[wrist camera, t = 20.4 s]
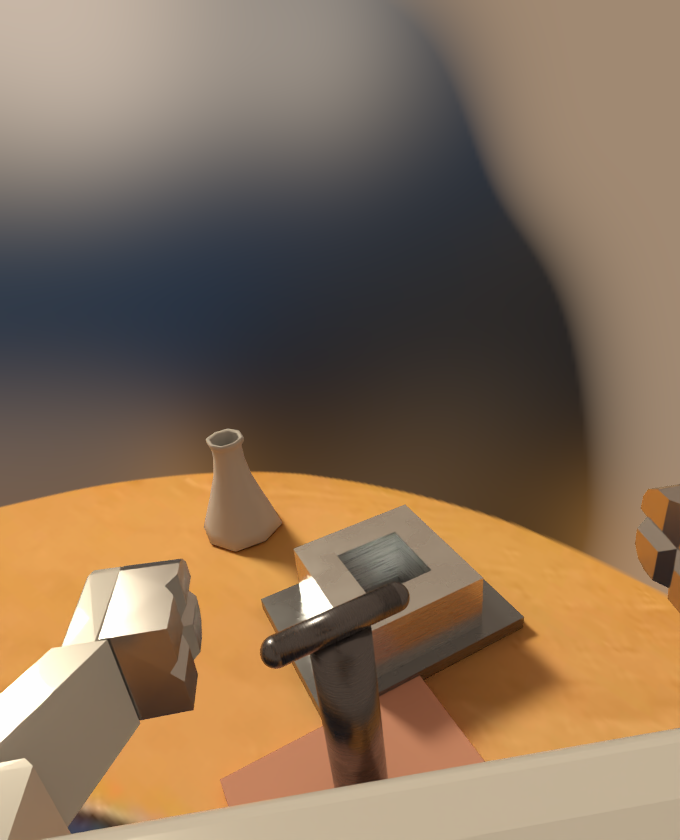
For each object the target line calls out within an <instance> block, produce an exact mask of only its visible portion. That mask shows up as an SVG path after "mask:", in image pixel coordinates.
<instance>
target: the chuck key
mask: <svg viewBox="0 0 680 840" xmlns="http://www.w3.org/2000/svg"><path fill="white" fill-rule="evenodd" d="M409 601H410V594H409V591H408V589H407V588H406V587H405V586H404V585H403V584H401V583H399V582H390V583H388V584H385V585H383V586H381V587H379V588H376V589H374V590H372V591H370V592H367V593H365V594H363V595H361V596H358V597H356V598H354V599H352V600H349V601H347V602H345V603H343V604H340V605H338V606H336V607H334V608H331V609H329V610H327V611H325V612H322V613H320V614H318V615H316V616H313V617H311V618H309V619H307V620H304V621H302V622H300V623H298V624H295V625H293V626H291V627H289V628H286V629H284V630H282V631H280V632H277V633H275V634H273V635H271V636H269V637H267V638H266V639H265V640H264V642H263V643H262V645H261V648H260V656H261V659H262V661H263V662H264V664H265V665H266V666H268V667H270V668H274V669H277V668H281V667H284V666H286V665H288V664H290V663H292V662H294V661H296V660H299V659H301V658H303V657H305V656H307V655H309V654H310V659H311V664H312V669H313V675H314V680H315V686H316V691H317V697H318V702H319V707H320V713H321V718H322V724H323V729H324V735H325V740H326V745H327V751H328V756H329V762H330V767H331V772H332V778H333V783H334V788H338V787H344V786H350V785H355V784H361V783H367V782H372V781H378V780H384V779H388V774H387V765H386V755H385V746H384V737H383V728H382V719H381V709H380V700H379V691H378V682H377V673H376V663H375V654H374V645H373V636H372V628H371V625H373V624H376V623H378V622H380V621H382V620H384V619H386V618H388V617H391V616H393V615H395V614H397V613H399V612H401V611H403V610H404V609H405V608H406V607H407V606H408V604H409Z"/></svg>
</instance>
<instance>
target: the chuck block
mask: <svg viewBox="0 0 680 840" xmlns="http://www.w3.org/2000/svg"><path fill="white" fill-rule="evenodd" d="M293 550H294V556H295V562H296V568H297V574H298V580H299V584H296V585H294V586H292V587H289V588H287V589H285V590H282V591H280V592H277V593H275V594H273V595H270V596H268V597H265V598H263V599H261V601H262V606H263V609H264V611H265V613H266V615H267V617H268V619H269V621H270V623H271V624H272V626H273V628H274V630H275V632H276V633H277V632H280V631H282V630H284V629H286V628H289V627H291V626H293V625H295V624H298V623H300V622H302V621H304V620H307V619H309V618H311V617H313V616H316V615H318V614H320V613H322V612H325V611H327V610H329V609H331V608H334V607H336V606H338V605H340V604H343V603H345V602H347V601H349V600H352V599H354V598H356V597H358V596H361V595H363V594H365V593H367V592H370V591H372V590H374V589H376V588H379V587H381V586H383V585H385V584H388V583H390V582H399V583H401V584H403V585H404V586H405V587H406V588H407V589H408V591H409V594H410V601H409V604H408V606H407V607H406V608H405V609H404V610H403V611H401V612H399V613H397V614H395V615H393V616H391V617H388V618H386V619H384V620H382V621H380V622H378V623H376V624H373V625H371V628H372V636H373V645H374V654H375V663H376V673H377V682H378V691H379V696H381V695H383V694H385V693H387V692H389V691H391V690H393V689H395V688H396V687H398V686H400V685H402V684H404V683H406V682H408V681H410V680H412V679H414V678H416V677H418V676H419V675H420V677H421V678H422V679H425V678H427V677H429V676H431V675H433V674H435V673H437V672H439V671H440V670H442V669H444V668H446V667H448V666H450V665H452V664H454V663H456V662H458V661H459V660H461V659H463V658H465V657H467V656H469V655H471V654H473V653H475V652H476V651H478V650H480V649H482V648H484V647H486V646H488V645H490V644H492V643H494V642H495V641H497V640H499V639H501V638H503V637H505V636H507V635H509V634H511V633H513V632H514V631H516V630H518V629H520V628H522V627H523V623H524V617H523V616H522V615H521V614H520V613H519V612H518V611H517V610H516V609H515V608H514V607H513V606H512V605H511V604H509V603H508V602H507V601H506V600H505V599H504V598H503V597H502V596H501V595H500V594H499V593H498V592H497V591H496V590H495V589H494V588H492V587H491V586H490V585H489V584H488V583H487V582H486V581H485V580H484V579H483V577H482V576H480V575H479V574H478V573H477V572H476V571H475V570H474V569H473V568H472V567H471V566H470V565H469V564H468V563H467V562H466V561H465V560H463V559H462V558H461V557H460V556H459V555H458V554H457V553H456V552H455V551H454V550H453V549H452V548H451V547H450V546H449V545H448V544H446V543H445V542H444V541H443V540H442V539H441V538H440V537H439V536H438V535H437V534H436V533H435V532H434V531H433V530H432V529H430V528H429V527H428V526H427V525H426V524H425V523H424V522H423V521H422V520H421V519H420V518H419V517H418V516H417V515H416V514H415V513H413V512H412V511H411V510H410V509H409V508H408V507H407V506H406V505H403V506H400V507H398V508H395V509H393V510H390V511H388V512H385V513H382V514H380V515H377V516H375V517H372V518H370V519H367V520H365V521H362V522H360V523H357V524H355V525H352V526H350V527H347V528H345V529H342V530H340V531H337V532H335V533H332V534H329V535H327V536H324V537H322V538H319V539H317V540H314V541H312V542H309V543H307V544H304V545H302V546H299V547H297V548H294V549H293ZM292 664H293V666H294V668H295V670H296V672H297V674H298V675H299V677H300V679H301V681H302V683H303V685H304V687H305V689H306V691H307V692H308V694H309V696H310V698H311V700H312V702H313V704H314V706H315V708H316V709H317V711H318V713H319V715H320V717H321V713H320V707H319V702H318V697H317V691H316V686H315V680H314V675H313V669H312V664H311V659H310V654H309V655H307V656H305V657H303V658H301V659H299V660H296V661H294V662H292ZM321 719H322V718H321Z"/></svg>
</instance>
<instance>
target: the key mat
mask: <svg viewBox="0 0 680 840" xmlns="http://www.w3.org/2000/svg"><path fill="white" fill-rule="evenodd" d="M379 700H380V709H381V719H382V728H383V737H384V746H385V755H386V765H387V774H388V779H390V778H395V777H401V776H407V775H412V774H418V773H424V772H430V771H435V770H441V769H447V768H453V767H458V766H464V765H470V764H476V763H481V762H485V761H484V760H483V759H482V757H481V756H480V755H479V753H478V752H477V751H476V749H475V748H474V747H473V745H472V744H471V743H470V742H469V740H468V739H467V738H466V736H465V735H464V734H463V732H462V731H461V730H460V728H459V727H458V726H457V724H456V723H455V722H454V720H453V719H452V718H451V716H450V715H449V714H448V712H447V711H446V710H445V708H444V707H443V706H442V704H441V703H440V702H439V700H438V699H437V698H436V696H435V695H434V694H433V692H432V691H431V690H430V688H429V687H428V686H427V684H426V683H425V682H424V680H423V679H422V678H421V677H420V675H419V676H418V677H416V678H414V679H412V680H410V681H408V682H406V683H404V684H402V685H400V686H398V687H396V688H395V689H393V690H391V691H389V692H387V693H385V694H383V695H381V696H379ZM220 781H221V784H222V788H223V791H224V794H225V797H226V800H227V803H228V806H235V805H241V804H247V803H252V802H258V801H264V800H269V799H275V798H281V797H287V796H292V795H298V794H304V793H310V792H315V791H321V790H327V789H332V788H334V783H333V778H332V772H331V767H330V762H329V756H328V751H327V745H326V740H325V735H324V729H323V726H322V727H320V728H318V729H316V730H314V731H312V732H310V733H308V734H306V735H305V736H303V737H301V738H299V739H297V740H295V741H293V742H291V743H289V744H287V745H285V746H284V747H282V748H280V749H278V750H276V751H274V752H272V753H270V754H268V755H266V756H264V757H262V758H261V759H259V760H257V761H255V762H253V763H251V764H249V765H247V766H245V767H243V768H241V769H239V770H238V771H236V772H234V773H232V774H230V775H228V776H226V777H224V778H222V779H220Z"/></svg>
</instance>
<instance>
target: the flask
mask: <svg viewBox="0 0 680 840" xmlns="http://www.w3.org/2000/svg"><path fill="white" fill-rule="evenodd" d="M206 442H207V444H208V446H209V447H210V450H212V454H213V464H214V476H213V482H212V488H211V494H210V500H209V505H208V509H207V514H206V519H205V524H204V528H205V530H206V533H207V535H208V538H209V540H210V543H211V544H213V545H216V546H220V547H223V548H226V549H229V550H232V551H235V552H236V551H239V550H242V549H244V548H247V547H250V546H253V545H256V544H258V543H261V542H264V541H266V540H267V539H268V538H269V537H270V536H271V535H272V533H273V532H274V531H275V530H276V529H277V528H278V527H279V526H280V525H281V524H282V521H281V519H280V518H279V516H278V515H277V513H276V511H275V510H274V508H273V507H272V505H271V503H270V502H269V500H268V499H267V497H266V496H265V494H264V493H263V491H262V490H261V488H260V487H259V485H258V484H257V482H256V481H255V479H254V477H253V476H252V474H251V472H250V470H249V467H248V465H247V463H246V460H245V458H244V454H243V450H242V443H243V442H244V438H243V436H242V434H241V433H240V431H237V430H233V429H225V430H222V431H218V432H215V433H214V434H212V435H211V436H209V437H208V438H207V439H206Z"/></svg>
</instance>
